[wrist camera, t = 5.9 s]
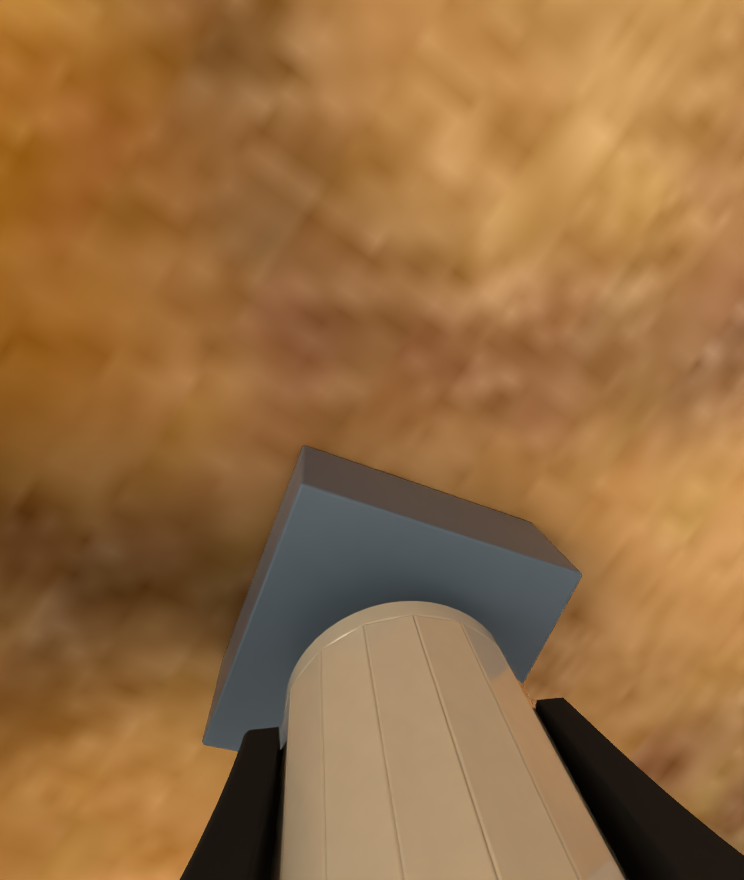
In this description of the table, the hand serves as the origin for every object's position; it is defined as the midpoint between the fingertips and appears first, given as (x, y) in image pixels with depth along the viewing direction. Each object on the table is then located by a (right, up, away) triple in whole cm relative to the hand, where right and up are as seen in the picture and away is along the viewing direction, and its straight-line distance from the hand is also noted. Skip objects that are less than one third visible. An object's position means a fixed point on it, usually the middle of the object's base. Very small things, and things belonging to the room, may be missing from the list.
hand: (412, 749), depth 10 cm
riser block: (-1, +2, +6) cm, 6 cm away
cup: (0, 0, +1) cm, 1 cm away
